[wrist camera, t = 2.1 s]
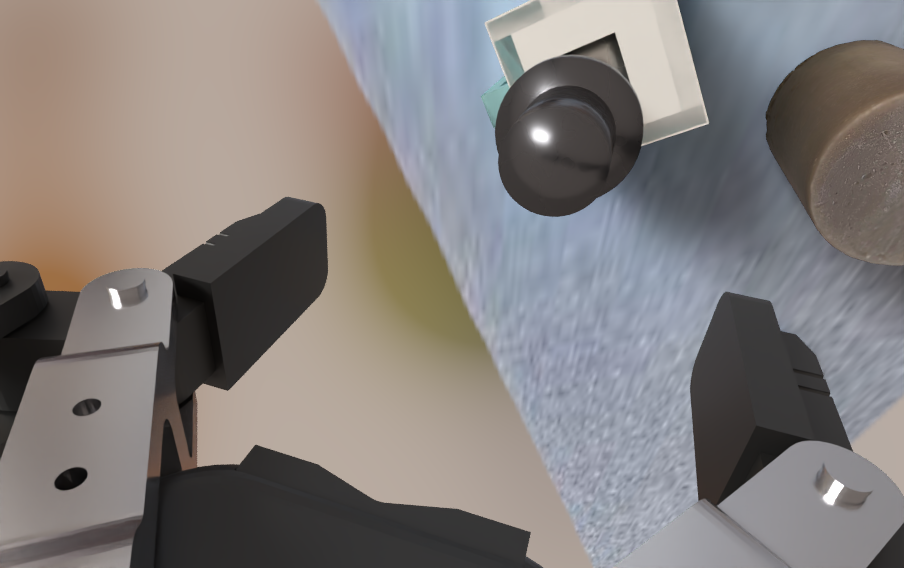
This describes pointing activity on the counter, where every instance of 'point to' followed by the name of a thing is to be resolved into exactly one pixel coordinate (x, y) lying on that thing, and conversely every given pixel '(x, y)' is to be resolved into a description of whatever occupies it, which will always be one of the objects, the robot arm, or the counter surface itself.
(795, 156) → the pillar candle
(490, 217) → the counter surface
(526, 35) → the open teal box
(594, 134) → the doorknob
